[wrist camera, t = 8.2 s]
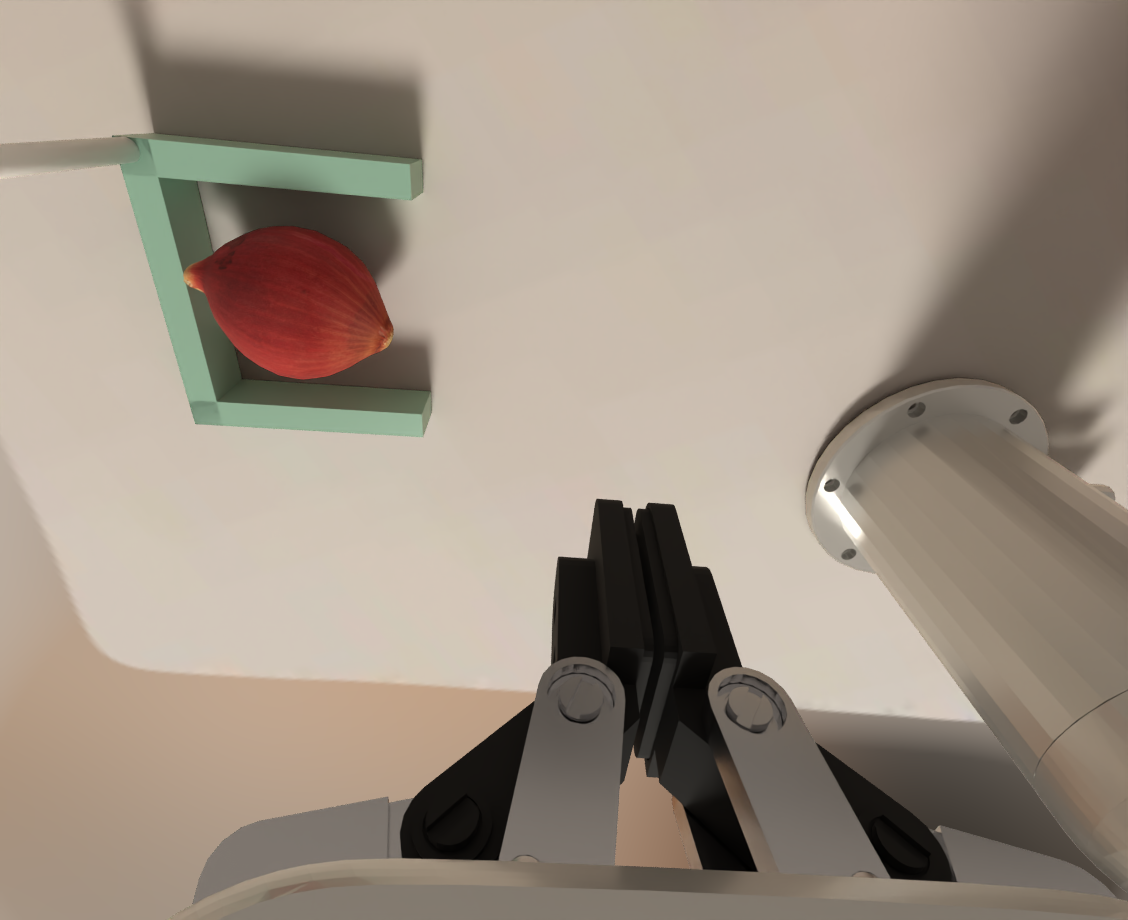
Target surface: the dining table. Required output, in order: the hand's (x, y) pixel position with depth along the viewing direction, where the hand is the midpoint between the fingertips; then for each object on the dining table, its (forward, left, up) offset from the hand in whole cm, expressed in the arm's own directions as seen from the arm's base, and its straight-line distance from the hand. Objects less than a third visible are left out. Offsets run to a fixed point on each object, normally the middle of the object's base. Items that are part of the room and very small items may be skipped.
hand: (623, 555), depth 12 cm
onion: (+8, 0, -14) cm, 16 cm away
